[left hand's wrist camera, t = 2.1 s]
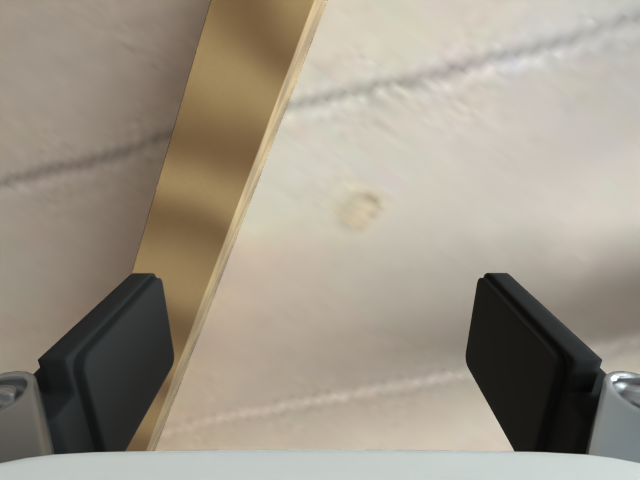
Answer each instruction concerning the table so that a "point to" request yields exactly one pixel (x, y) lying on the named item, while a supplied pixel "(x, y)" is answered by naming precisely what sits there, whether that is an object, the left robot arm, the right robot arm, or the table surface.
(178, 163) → the bar
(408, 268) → the table surface
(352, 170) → the table surface
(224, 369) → the table surface
